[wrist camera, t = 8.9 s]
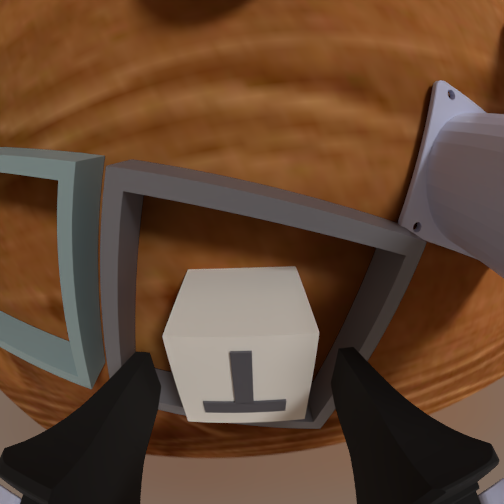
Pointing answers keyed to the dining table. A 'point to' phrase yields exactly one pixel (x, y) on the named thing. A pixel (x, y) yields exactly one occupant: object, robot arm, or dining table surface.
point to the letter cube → (242, 345)
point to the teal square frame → (65, 266)
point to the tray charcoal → (262, 207)
